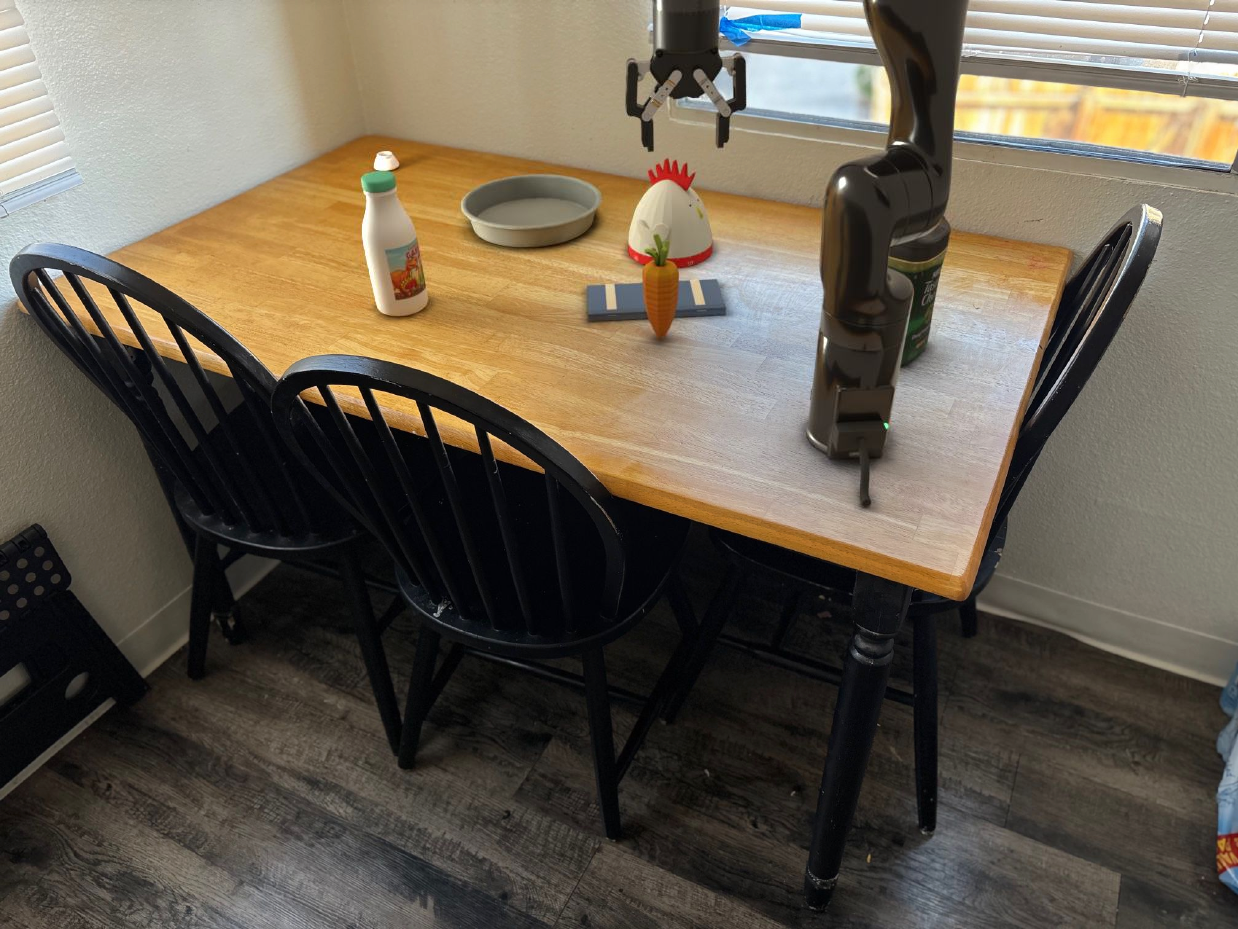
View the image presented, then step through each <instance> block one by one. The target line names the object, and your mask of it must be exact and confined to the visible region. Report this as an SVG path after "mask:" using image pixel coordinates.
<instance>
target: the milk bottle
mask: <svg viewBox="0 0 1238 929" xmlns="http://www.w3.org/2000/svg"><path fill="white" fill-rule="evenodd" d="M360 182H361V187H362V190H363V195H365V197H366V204H365V205H366V206H365V211H364V212H365V213H364V216H363V220H362V225H361V226H362V227H361V234H362V243H363V249H364V254H365V260H366V263H367V268H368V274H369V278H370V282H371V287H372V291H373V296H374V300H375V304H376V307H377V309H378V311H379V312H380V313H382V314H383V315H385V316H390V317H403V316H405V317H406V316H410V315H413V314H417V313H418V312H420V311H422V310H423V309H425V308H426V307H427V305H428V302H429V297H428V290H427V283H426V279H425V274H424V273H425V272H424V267H423V262H422V257H421V256H422V255H421V250H420V247H419V241H418V236H417V232H416V229H415V226H414V223H413V220H412V218H411V217H410V216H409V214H408V212H407V211H406V210H405V208H404V206H403V205H402V203H401V201H400V199H399V198H398V194H397V191H398V187H397V182H396V176H395V174H394V173H393V172H391V171H380V170H375V171H370V172H368V173H365V174H363V175H362V177H361V178H360Z"/></svg>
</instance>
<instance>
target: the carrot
mask: <svg viewBox="0 0 1238 929" xmlns="http://www.w3.org/2000/svg"><path fill="white" fill-rule="evenodd" d="M653 237H654V240H655V243H656V246H657V249H658V251H657V250H656V248H651V249H645V250H644V252H645V253H646V254H649V255H650V256H651V257H652V258H653V259H654V260H652V261H651V262H649V263H648V264H646V265H644V266H643V267H642V270H641V275H642V276H641V277H642V283H643V294H644V301H645V307H646V311H647V315H648V321H649V323H650V326H651V329H652V330H653V332H654V334H655V336H656V338H657V339H660V340H662V339H663V338H665V337H666V335H667V333H668V332H669V330H670V329H671V326H672V324H673V321H674V319H675V317H674V315H675V311H676V306H677V301H678V288H679V281H680V271H679V268H677V267H676V265H675V263H673V262H671V261H668V260H666V259H667V256H668V252H669V245H670V242H669V241H668V240H665V246H664V247H663V245H662V241H661V238H660V236H659V234H654V235H653ZM658 253H659V254H658Z"/></svg>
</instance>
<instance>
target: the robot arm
mask: <svg viewBox="0 0 1238 929" xmlns="http://www.w3.org/2000/svg"><path fill="white" fill-rule="evenodd" d="M651 2H652V55H651V57H650V60H636V59H635V58H634V57H629V58H628V59H627V60H626V63H625V65H626V67H625V96H624V98H625V100H624V102H625V104H624V107H625V112H626V114H627V116H629V117H634V118H637V119H639V120H640V140H641V145H642V146H643V148H646V149H647V153H653V152H654V151H655V140H654V139H655V138H654V128H655V127H654V119H653V117H654V115H655V114H656V113H657V111H658V110H659V108H660V107H662V106H663V104H664V103H665V102H666V100H667V99H668V98H671V99H672V100H681V99H684V98H690V99H700V97H702V96H704V95H705V94H706V96H707V98H709V100H710V101H711V103H712V104H713V105H714V106H715V108H716V109H717V111H718V112H716V113H715V116H716V117H715V146H716V148H717V149H723V148H724V147H725V146H724V145H725V144H728V142H729V140H730V127H731V125H730V124H731V116H732V115H733V114H734V113H736V112H739V111H740V112H742V111H745V109H746V108H747V60H746V59H745V56H744V55H743V54H742V53H741V52H735V53H733V54H732V55H727V56H721V54H720V50H719V46H720V45H719V44H720V8H721V7H720V6H721V5H720V4H721V0H651ZM969 3H970V0H862V8H863V13H864V18H865V21H866V25H867V28H868V30H869V33H870V36H871V40H872V41H873V44H874V47H875V48H876V51H877V53H878V56H879V58H880V60H881V62H882V65H883V67H884V70H885V73H886V77H887V81H888V84H889V90H890V92H889V93H890V114H889V124H888V125H889V126H888V133H887V139H886V144H885V147H884V151H881V152H880V151H879V152H877V153H873V154H872V153H871V154H869V155H865V156H861V157H858V158H854V159H851V160H848V161H845V162H844V163H842V164H840V165H839V166H838V167H837V168H836V169H835V170H834V171H833V173H832V174H831V176H830V177H829V180H828V182H827V186H826V188H825V192H824V195H823V202H822V211H821V228H820V229H821V231H820V246H819V247H820V248H819V262H818V263H819V265H818V266H819V268H818V269H819V277H820V282H821V287H822V303H821V311H820V318H819V327H818V334H817V335H818V336H817V342H816V343H817V344H816V350H815V351H816V352H815V360H814V369H813V377H812V385H811V389H810V397H809V400H810V402H809V403H810V404H809V410H808V411H809V413H808V420H807V422H806V424H807V425H806V430H805V431H806V437H807V439H808V441H809V442H810V443H811V445H813V446H814V447H815V448H816V449H818V450H819V451H821V452H823V453H825V454H827V456H828V459H829V460H844V459H845V460H846V459H859V463H860V480H859V497H860V501H861V502H860V503H861V504H862V506H864V507H869V506H871V504H872V500H871V497H870V480H871V478H870V477H871V476H870V475H871V471H870V470H871V469H870V458H881V457H883V456H884V452H885V447H886V446H887V444H888V441H889V435H890V431H889V430H890V425H891V419H892V413H893V408H894V402H895V396H896V391H897V386H898V380H899V375H900V369H901V365H902V364H901V360H902V354H903V349H904V343H905V338H906V333H907V328H908V323H909V317H910V312H911V307H912V301H913V295H914V288H913V284H912V282H911V281H910V279H909V278H908V277H907V276H906V275H904V274H903V273H901V272H899V271H897V270H895V269H893V268H890V267H888V259H889V251H890V248H892V247H895V246H898V245H901V244H904V243H907V242H911V241H913V240H916V239H919V238H921V237H923V236H925V235H927V234H929V233H930V232H932V231H933V230H934V229H935V228H936V227H937V226H938V224H939V223H940V222H941V220H942V218H943V216H945V213H946V211H947V207H948V203H949V200H950V193H951V184H952V173H953V172H952V171H953V156H954V155H953V153H954V152H953V151H954V134H955V116H956V102H957V91H958V84H959V76H960V69H961V62H962V61H961V60H962V55H963V54H962V53H963V45H964V39H965V29H966V21H967V14H968V9H969V5H970V4H969ZM722 68H724V69H726V73H727V74H728V76H730V77H732V98H729V99H727V100H726V99H725V97H724V96H723V94H722V93H721V92H720V90H719V89H718V87H717V86H716V85H715V83H714V82H715V80H716V78H717V77H718V76H719V74H720V73H721V71H722ZM648 72H650V74H651V76H652V77H653V78H654V80H655V81H656V83H655V85H654V86H653V88H652V89H651V91H650V92H649V95H648V96H647V98H646V100H645V101H644V102H643V104H641V103H638V84H639V83H640V82H642V81H644V79H645V75H646V73H648ZM638 82H639V83H638Z"/></svg>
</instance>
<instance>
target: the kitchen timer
mask: <svg viewBox="0 0 1238 929" xmlns="http://www.w3.org/2000/svg"><path fill="white" fill-rule="evenodd" d="M688 165H689V164H688V162H685V163H683V164H682V167H681V170H680V171H679V164H678V159H674V160H673V161H672V164H670V159H669V157H666V158H665V159H664V160H663V165H661V163H658V162H657V163H656V164H655V167H654V168H655V171H656V172H655V173H656V175H655V173H654V171H653V169H652V168H650V169H648V170H647V175H648V178H649V180H650V183H651V186H650V187H649V188H648V189H647V190H646V192H644V194H643V196H642V197H641V199H640V200H639V202H638V204H637V206H636V208H635V211H634V212H633V217H632V220H631V223H630V226H629V230H628V255H629V256H630V258H631V259H632V260H634V261H636V262H637V263H639V264H642V265H644V266H645V265H646V264H648V263H649V262H651V261H652V260H654V259H653V258H652V257H651V256H650V255H649V254H646V253H645V252H644V250H645V249H651V248H656V250H657V251H658V249H657V246H656V243H655V240H654V237H653V235H654V234H659V236H660V238H661V241H662V245H663V247H664V246H665V240H668V241H669V242H670V245H669V252H668V256H667V259H666V260H668V261H671V262H673V263H675V265H676V267H677V269H680V268H687V267H691V266H695V265H698V264H700V263H702V262H705V261H706V260H707V259H708V258H710V257H711V256H712V253H713V246H714V244H713V243H714V239H713V232H712V227H711V223H710V221H709V217H708V216H709V215H708V212H707V210H706V207H705V204H704V202H703V200H702V199H701V198H700V196H699V195H698V193H697V192H696V191H695V190H694V189H693V188H692V187H691V185H692V183H693V181H694V178H695V177H696V173H697V172H696V171H694V172H693V173H691V175H689V168H688ZM662 166H663V167H662ZM658 254H659V253H658Z"/></svg>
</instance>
